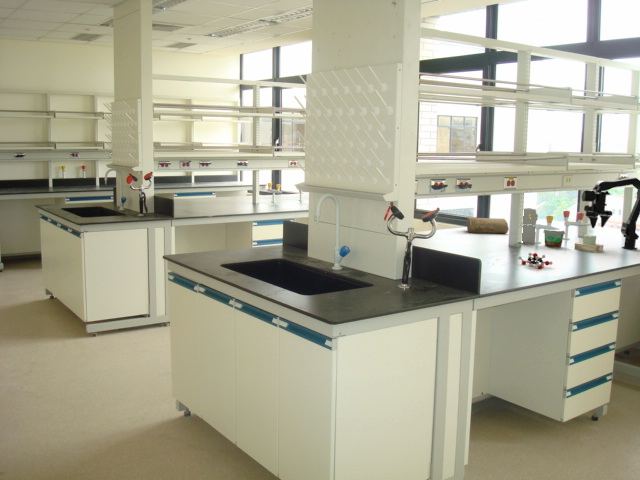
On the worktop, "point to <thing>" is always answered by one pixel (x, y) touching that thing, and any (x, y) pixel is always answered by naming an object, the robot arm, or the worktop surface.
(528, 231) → the grey tall slab
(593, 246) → the birch block
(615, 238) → the worktop surface
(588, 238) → the sage cube
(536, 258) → the molecular model
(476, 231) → the core sample
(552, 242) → the food container
